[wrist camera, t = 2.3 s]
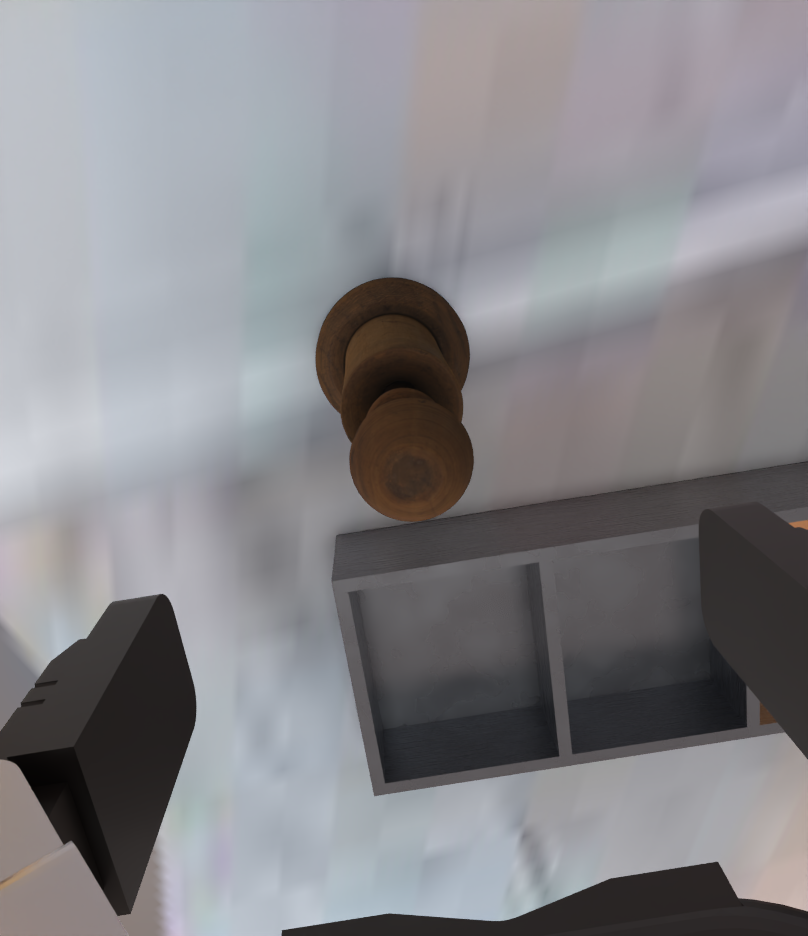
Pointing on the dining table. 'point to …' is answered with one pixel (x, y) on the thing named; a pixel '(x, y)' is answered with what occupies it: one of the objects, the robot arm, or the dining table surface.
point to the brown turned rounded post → (399, 395)
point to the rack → (545, 633)
